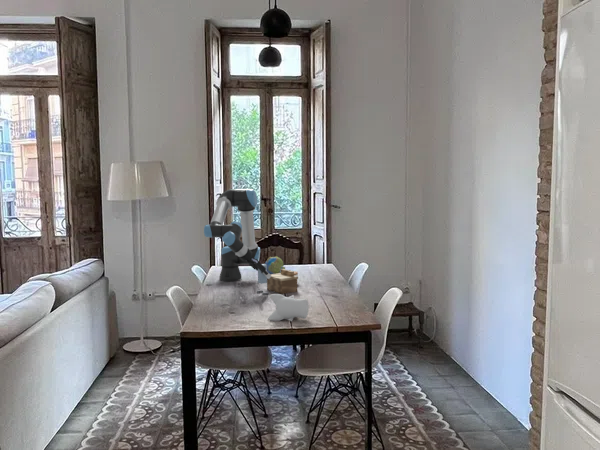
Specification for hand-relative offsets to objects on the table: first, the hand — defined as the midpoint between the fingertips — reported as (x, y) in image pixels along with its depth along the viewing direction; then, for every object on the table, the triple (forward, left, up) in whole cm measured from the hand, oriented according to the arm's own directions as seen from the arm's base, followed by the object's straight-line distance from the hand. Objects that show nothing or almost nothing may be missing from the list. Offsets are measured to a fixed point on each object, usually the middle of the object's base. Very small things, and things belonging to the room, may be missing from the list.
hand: (267, 276), depth 326 cm
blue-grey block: (0, -4, -3) cm, 5 cm away
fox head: (+56, -22, -10) cm, 61 cm away
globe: (-47, +35, -10) cm, 60 cm away
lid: (0, +10, -2) cm, 10 cm away
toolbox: (0, +10, -10) cm, 14 cm away
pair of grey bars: (0, -4, -10) cm, 11 cm away
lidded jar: (-14, +25, -10) cm, 31 cm away
